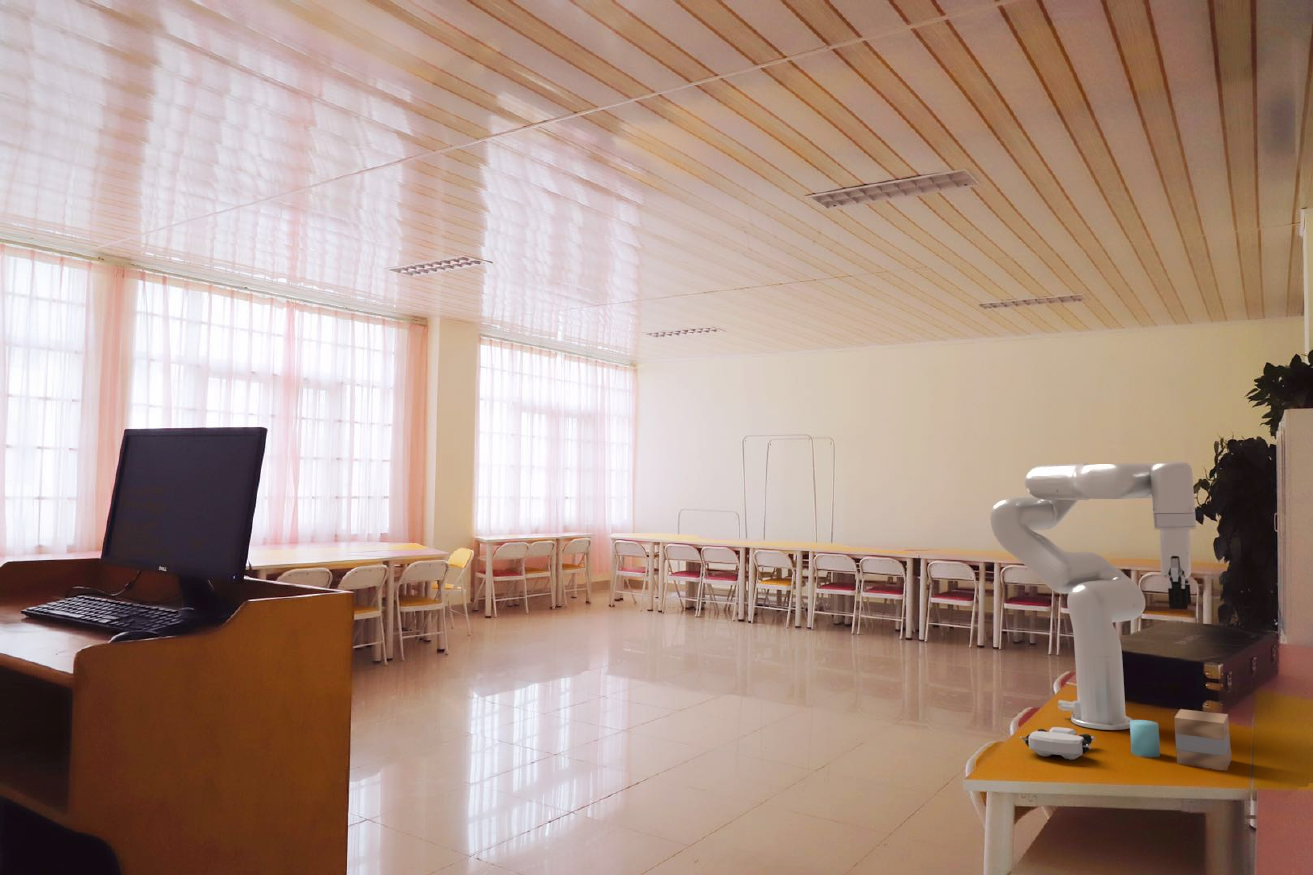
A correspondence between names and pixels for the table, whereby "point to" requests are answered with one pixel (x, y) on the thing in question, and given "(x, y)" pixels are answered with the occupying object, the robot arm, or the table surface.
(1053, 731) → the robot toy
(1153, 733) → the teal open box
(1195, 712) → the slab top
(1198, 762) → the slab bottom
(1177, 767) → the table surface
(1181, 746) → the slab middle
